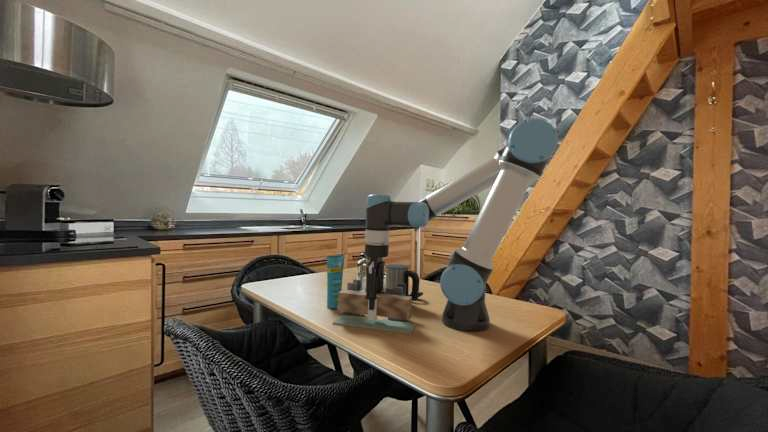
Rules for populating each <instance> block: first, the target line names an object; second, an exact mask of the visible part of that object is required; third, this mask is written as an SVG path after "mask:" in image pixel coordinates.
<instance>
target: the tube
mask: <svg viewBox="0 0 768 432" xmlns="http://www.w3.org/2000/svg"><path fill="white" fill-rule="evenodd" d="M345 257H346V256H345V254H335V255H326V278H327V280H326V281H327V283H326V285H327V290H326V293H327V294H326V295H327V296H326V297H327V298H326V307H327V308H328V309H337V308H338V292H340V291H341V290H343V277H344V276H343V275H344V274H343V273H344V263H345Z"/></svg>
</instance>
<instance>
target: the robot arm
mask: <svg viewBox="0 0 768 432" xmlns="http://www.w3.org/2000/svg"><path fill="white" fill-rule="evenodd" d="M558 137H559V136H558V132H557V130H556V128H555V127H554V125H553V124H552V123H550V122H549V121H547V120H545V119H542V118H534V117H533V118H528V119H525V120H522V121H520V122H519V123H518V124H516V125H515V126H514V128H512V129H511V131H510V133H509V135H508V139H507V143H506V145H505V146H504V147H502V148H501V149H499V150H497V151H496V152H495V154H494V156H493V157H492V158H490V159H488V160H487V161H485V162H483V163H482V164H480V165H478V166H477V167H475V168H473V169H471V170H470V171H468V172H466V173H464V174H463V175H461V176H459V177H458V178H456V179H454V180H453V181H451V182H449V183H447V184H445V185H443V186H442V187H440V188H438V189H437V190H435V191H433V192H431V194H428V195H427V196H425V197H423V198H422V199H420V200H418V201H392V199H391V196H390V195H388V194H372V193H371V194H369V195H368V196H367V197H366V198H367V199H366V206H365V207H366V208H365V232H363V235H364V237H365V239H364V241H365V245H364V256H366V257H369V258H370V259H369V261H368V264H367V265H368V266H366V268H365V269H366V271H365V272H366V285H365V286H366V287H365V289H366V291H365V292H366V297H365V298H366V299H368V315H367V318H368V320H377V319H378V318H377V317H378V316H377V299H376V298H377V297H376V296H377V293H381V294H385V292H384V278H385V266H386V262H385V261H384V260H383V258H386V257H389V249H390V248H389V247H390V246H389V243H390V226H393V227H394V226H397V227H410V228H411V227H412V228H425V227H427V226H428V223H429V222H430V221H431V220H433V219H435V218H437V216H441V214H444V213H445V212H447V211H449V210H451V209H452V208H455V207H456V206H458V205H460V204H461V203H463V202H465V201H466V200H469V199H470V198H472V197H474V196H476V195H478V194H479V193H482V192H483V191H485V190H487V189H489V188H491V189H490V191H489V193H488V195H487V197H486V199H485V201H484V203H483V205H482V206H481V208H480V211H479V213H478V215H477V218H476V219H475V221H474V223H473V226H472V228H471V229H470V232H469V233H468V235H467V237H466V240H465V242H464V243H463V246H461V247H458V248H456V249H455V251H454V252H451V253H450V255H449V260H448V263H447V266H446V268H445V269H444V270H443V271H442V274H441V276H440V280H439V281H440V289H441V292H442V294H443V296H444V297H445V298H446V299H447V300H446V304H445V307H444V308H443V311H442V316H441V321H442V323H443V324H444V325H445V326H447V327H449V328H452V329H454V330H455V329H456V330H460V331H466V332H468V331H469V332H480V331H481V332H482V331H485V330H488V329H489V328H490V326H491V325H490V324H491V323H490V322H491V319H490V315H489V312H488V308H487V304H486V284H487V282H488V280H489V279H490V277H491V274H492V273H493V270H494V268H495V267H494V264H493V262H492V260H493V258H494V256H495V254H496V252H497V251H498V248H499V246H500V244H501V242H502V240H503V239H504V236H505V234H506V232H507V230H508V228H509V226H510V224H511V222H512V221H513V218H514V216H515V214H516V212H517V211H518V208H519V207H520V204H521V202H522V201H523V198H524V197H525V194H526V193H527V191H528V189H529V187H530V184H531V183H532V182H534V181H537V180H539V179H540V178H541V176H542V174H543V172H544V170H545V168H546V166H547V164H548V163H549V160H550V159H551V157H552V156H553V155H554V154H555V153H556V150H557V147H558V144H559V138H558Z"/></svg>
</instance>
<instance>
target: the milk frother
mask: <svg viewBox="0 0 768 432" xmlns="http://www.w3.org/2000/svg"><path fill="white" fill-rule="evenodd" d="M409 267H410V265H407V264H401V263H392V264H391V263H390V264H385V294H390V295H393V287H397V283H403V284H406V293H405V296H410V297H412V302H415V301H417V300H418V299H419V298H420V297H422V296H423V295H424V292H423V291H420V276H419V275H418V273H417V272H415V271H414V270H409ZM409 278H411V280H412V281H411V282H412V284H411V285H412V286H411V292H410V294H409V284H410V283H409V281H410V279H409Z"/></svg>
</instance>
